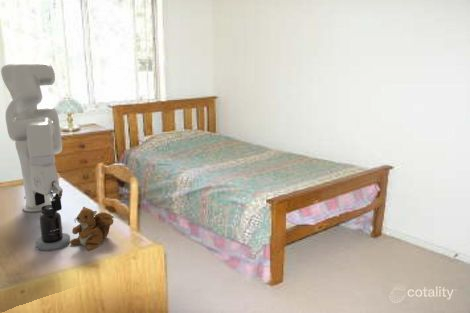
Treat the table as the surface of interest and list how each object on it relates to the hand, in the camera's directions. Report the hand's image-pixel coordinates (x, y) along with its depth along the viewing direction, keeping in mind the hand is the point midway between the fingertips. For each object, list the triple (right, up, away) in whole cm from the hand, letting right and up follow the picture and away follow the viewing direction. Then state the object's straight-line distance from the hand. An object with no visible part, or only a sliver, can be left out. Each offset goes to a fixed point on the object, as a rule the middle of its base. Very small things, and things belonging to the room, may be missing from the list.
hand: (48, 207), depth 146 cm
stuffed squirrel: (+14, -13, +4) cm, 20 cm away
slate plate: (+1, -13, +3) cm, 13 cm away
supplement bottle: (0, -12, +3) cm, 12 cm away
